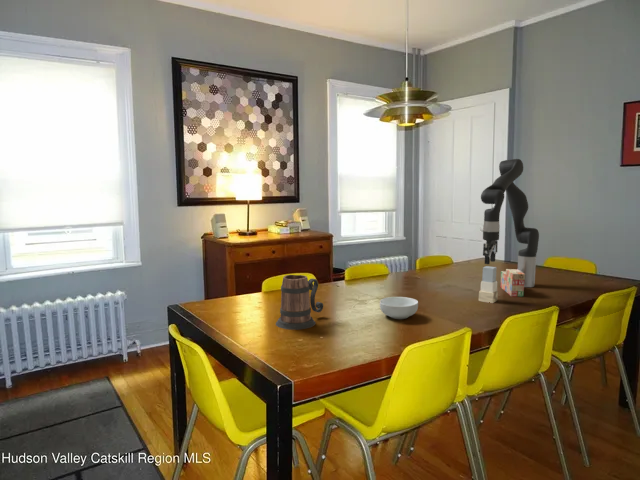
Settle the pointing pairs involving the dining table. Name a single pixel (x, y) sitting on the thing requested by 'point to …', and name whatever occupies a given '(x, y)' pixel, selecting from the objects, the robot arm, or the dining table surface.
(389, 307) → the cereal bowl
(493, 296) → the tower base
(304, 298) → the tankard
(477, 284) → the dining table surface
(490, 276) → the slate block
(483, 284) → the tower middle
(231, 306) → the dining table surface
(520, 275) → the printed cardboard box
